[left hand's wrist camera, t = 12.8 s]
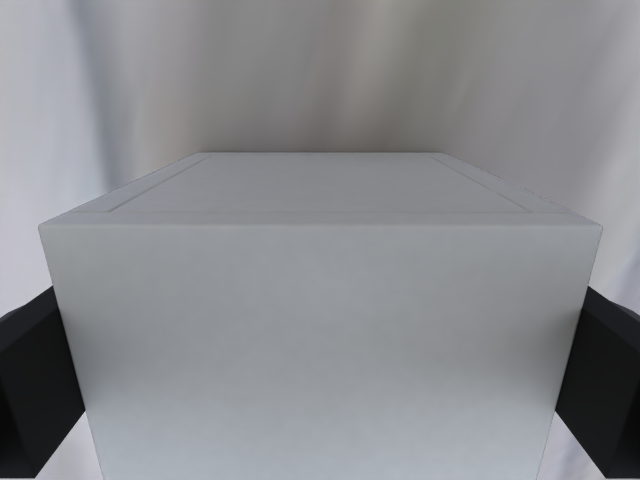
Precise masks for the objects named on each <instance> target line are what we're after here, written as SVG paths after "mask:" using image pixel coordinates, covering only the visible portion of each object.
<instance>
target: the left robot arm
mask: <svg viewBox="0 0 640 480" xmlns="http://www.w3.org/2000/svg"><path fill="white" fill-rule="evenodd" d="M555 411H556V412H557V414H558V415H559V416H560V418H561V419H562V420H563V422H564V423H565V424H566V426H567V427H568V428H569V430H570V431H571V432H572V434H573V435H574V436H575V438H576V439H577V441H578V442H579V443H580V445H581V446H582V447H583V449H584V450H585V451H586V453H587V454H588V455H589V457H590V458H591V459H592V461H593V462H594V463H595V465H596V466H597V467H598V469H599V470H600V471H601V473H602V474H603V475H604V477H605V478H635V479H640V316H639V315H638V314H636V313H635V312H633V311H632V310H629V309H627V308H625V307H623V306H620V305H618V304H616V303H614V302H611V301H609V300H608V299H606V298H605V297H603V296H602V295H601V294H599V293H598V292H596V291H595V290H593V289H592V288H591V287H589V286H588V287H587V291H586V295H585V298H584V302H583V306H582V310H581V313H580V317H579V321H578V325H577V329H576V332H575V336H574V340H573V344H572V347H571V351H570V355H569V359H568V363H567V366H566V370H565V374H564V378H563V381H562V385H561V389H560V393H559V396H558V400H557V404H556V408H555ZM84 412H85V406H84V402H83V398H82V395H81V391H80V387H79V383H78V379H77V375H76V372H75V368H74V364H73V360H72V356H71V352H70V349H69V345H68V341H67V337H66V333H65V329H64V326H63V322H62V318H61V314H60V310H59V306H58V303H57V299H56V295H55V291H54V287H53V286H51V287H50V288H48V289H47V290H46V291H44V292H43V293H41V294H40V295H39V296H37V297H36V298H34V299H33V300H31V301H30V302H29V303H27V304H26V305H24V306H22V307H19V308H17V309H15V310H13V311H10V312H8V313H7V314H5V315H4V316H2V317H1V318H0V478H35V477H36V476H37V474H38V473H39V472H40V470H41V469H42V468H43V466H44V465H45V464H46V462H47V461H48V460H49V458H50V457H51V456H52V454H53V453H54V452H55V450H56V449H57V448H58V446H59V445H60V444H61V442H62V441H63V440H64V438H65V437H66V436H67V434H68V433H69V432H70V430H71V429H72V428H73V426H74V425H75V424H76V422H77V421H78V420H79V418H80V417H81V416H82V414H83V413H84Z"/></svg>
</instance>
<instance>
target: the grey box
mask: <svg viewBox="0 0 640 480" xmlns="http://www.w3.org/2000/svg"><path fill="white" fill-rule="evenodd" d="M38 230H39V234H40V237H41V241H42V245H43V249H44V253H45V257H46V260H47V264H48V268H49V272H50V276H51V280H52V283H53V287H54V291H55V295H56V299H57V303H58V306H59V310H60V314H61V318H62V322H63V326H64V329H65V333H66V337H67V341H68V345H69V349H70V352H71V356H72V360H73V364H74V368H75V372H76V375H77V379H78V383H79V387H80V391H81V395H82V398H83V402H84V406H85V410H86V414H87V418H88V421H89V425H90V429H91V433H92V437H93V441H94V444H95V448H96V452H97V456H98V460H99V464H100V467H101V471H102V475H103V479H104V480H536V479H537V476H538V472H539V468H540V464H541V461H542V457H543V453H544V449H545V446H546V442H547V438H548V434H549V430H550V427H551V423H552V419H553V415H554V412H555V408H556V404H557V400H558V396H559V393H560V389H561V385H562V381H563V378H564V374H565V370H566V366H567V363H568V359H569V355H570V351H571V347H572V344H573V340H574V336H575V332H576V329H577V325H578V321H579V317H580V313H581V310H582V306H583V302H584V298H585V295H586V291H587V287H588V283H589V279H590V276H591V272H592V268H593V264H594V261H595V257H596V253H597V249H598V246H599V242H600V238H601V234H602V230H603V227H602V225H600V224H598V223H596V222H593V221H591V220H589V219H587V218H585V217H582V216H580V215H578V214H576V213H574V212H573V211H571V210H569V209H566V208H564V207H562V206H560V205H558V204H555V203H553V202H551V201H549V200H547V199H545V198H542V197H540V196H538V195H536V194H534V193H531V192H529V191H527V190H525V189H523V188H520V187H518V186H516V185H514V184H512V183H510V182H507V181H505V180H503V179H501V178H499V177H496V176H494V175H492V174H490V173H488V172H485V171H483V170H481V169H479V168H477V167H475V166H472V165H470V164H468V163H466V162H464V161H461V160H459V159H457V158H455V157H453V156H450V155H447V154H445V153H358V152H197V153H195V154H192V155H190V156H188V157H185V158H183V159H181V160H179V161H177V162H175V163H172V164H170V165H168V166H166V167H164V168H161V169H159V170H157V171H155V172H153V173H151V174H148V175H146V176H144V177H142V178H140V179H137V180H135V181H133V182H131V183H129V184H127V185H124V186H122V187H120V188H118V189H116V190H114V191H111V192H109V193H107V194H105V195H103V196H100V197H98V198H96V199H94V200H92V201H90V202H87V203H85V204H83V205H81V206H79V207H76V208H74V209H72V210H70V211H68V212H66V213H63V214H61V215H59V216H57V217H55V218H53V219H50V220H48V221H46V222H44V223H42V224H40V225H39V226H38Z"/></svg>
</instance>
